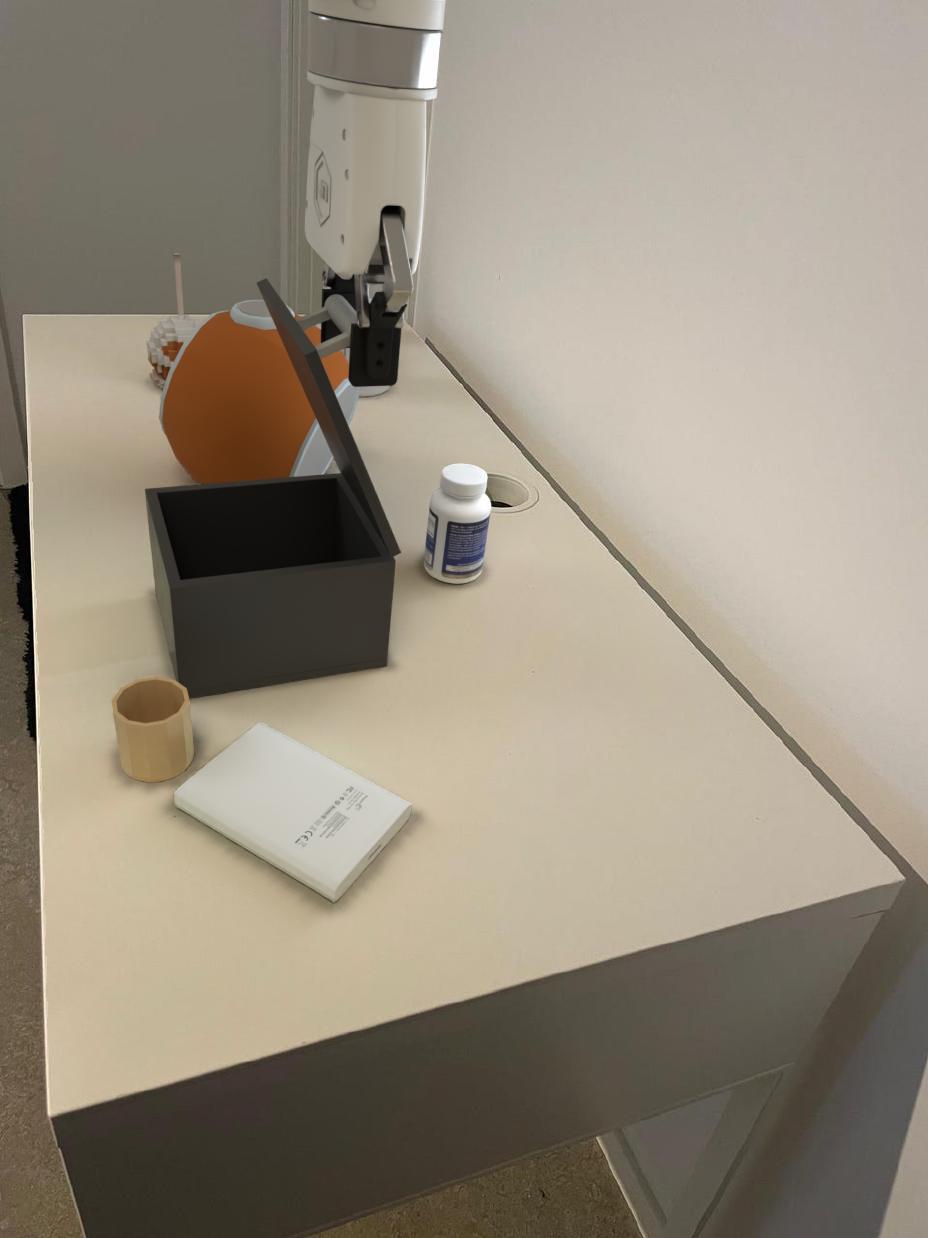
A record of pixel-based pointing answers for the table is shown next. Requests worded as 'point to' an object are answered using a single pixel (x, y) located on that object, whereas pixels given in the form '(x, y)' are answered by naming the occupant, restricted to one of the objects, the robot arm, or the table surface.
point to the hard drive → (294, 809)
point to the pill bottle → (458, 525)
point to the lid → (329, 395)
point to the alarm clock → (246, 401)
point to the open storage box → (268, 582)
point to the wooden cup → (153, 728)
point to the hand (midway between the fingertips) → (357, 362)
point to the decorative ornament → (169, 335)
